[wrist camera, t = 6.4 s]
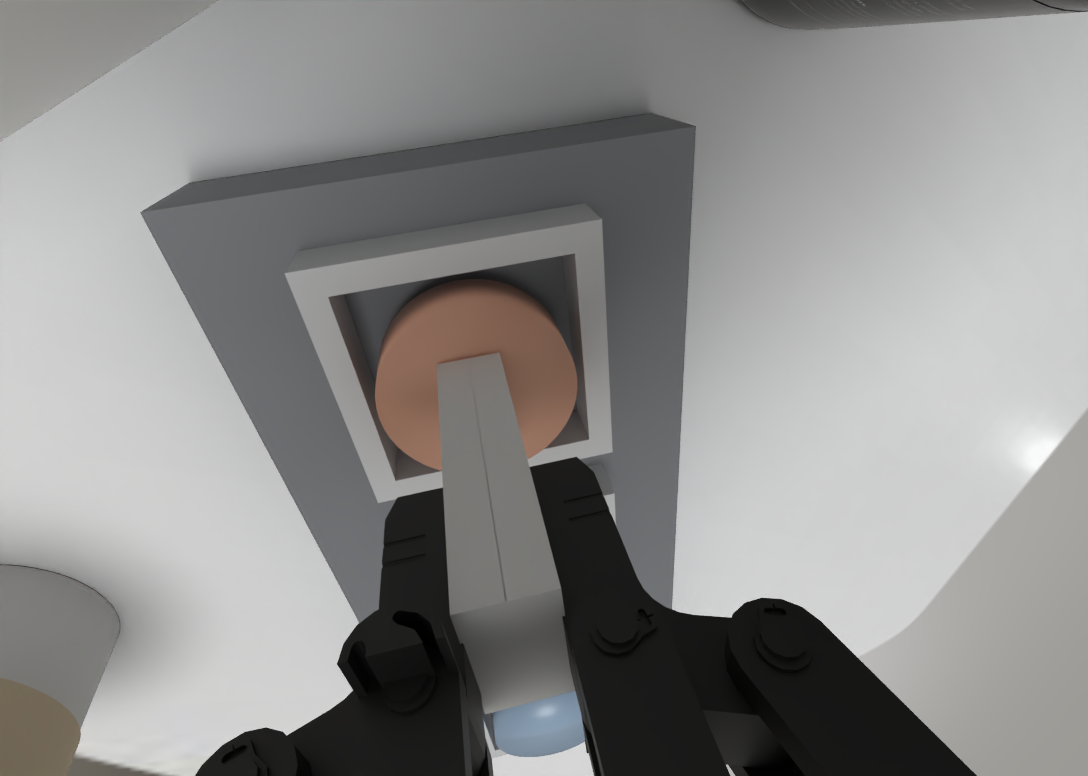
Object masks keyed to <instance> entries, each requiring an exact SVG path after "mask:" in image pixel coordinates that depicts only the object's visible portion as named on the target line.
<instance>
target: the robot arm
mask: <svg viewBox="0 0 1088 776" xmlns="http://www.w3.org/2000/svg"><path fill="white" fill-rule="evenodd" d="M436 367H437V385H438V404H439V423H440V441H441V460H442V478H443V488H438V489H433V490H429V491H424V492H420V493H415V494H411V495H406V496H401V497H397V499H396V501H395V503H394V505H393V506H392V508H391V510H390V512H389V514H388V515H387V517H386V519H385V527H384V541H383V544H384V548H383V555H382V566H383V568H382V569H381V583H380V597H379V610H377V611H374V612H373V613H372V614H371V615H369V616H368V617H367V618H366V619H364V620H363V621H362V622H360V623H359V624H358V625H357V626H356V627H355V629H354V630H353V631H352V633H351V634H350V636H349V637H348V638H347V640H346V641H345V643H344V644H343V648H342V651H341V654H340V657H339V660H338V663H337V665H338V666H339V668H340V669H341V671H342V673H343V674H344V676H345V677H346V679H347V681H348V682H349V684H350V686H351V687H352V689H353V691H352V692H351V693H350V694H349V695H348V696H347V697H346V698H345V699H344V700H343V701H342V702H340V703H339V704H337V705H336V706H335V707H333V708H332V709H331V710H329V711H327V712H326V713H324V714H322V715H321V716H319V717H317V718H316V719H314V720H312V721H311V722H309V723H307V724H306V725H304V726H302V727H301V728H299V729H297V730H296V731H294V732H292V733H291V734H289V735H287V736H286V735H285V734H284V733H283V732H281V731H277V730H273V729H269V728H262V729H257V730H253V731H248V732H244V733H243V734H241V735H239V736H237V737H236V738H234V739H232V740H231V741H229V742H227V743H225V744H224V745H222V746H221V747H220V748H219V749H218V750H217V751H216V752H215V753H214V754H213V755H212V756H211V757H210V758H209V759H208V760H207V761H206V762H205V763H204V764H203V765H202V766H201V768H200V769H199V771H198V772H197V774H196V775H195V776H493V767H492V758H491V754H490V751H489V747H488V744H487V740H486V738H485V729H484V718H483V709H484V712H485V714H489V713H493V712H496V711H500V710H504V709H508V708H511V707H515V706H519V705H523V704H527V703H530V702H534V701H538V700H542V699H546V698H549V697H553V696H557V695H561V694H564V693H568V692H572V691H576V695H577V699H578V703H579V707H580V712H581V716H582V723H583V730H584V737H585V744H586V750H587V753H589V756H590V760H591V764H592V768H593V772H594V776H730V774H729V772H728V769H727V767H726V765H725V764H728V765H729V767H730V768H731V770H732V771H733V773H734V774H735V776H977V775H976V774H975V773H973V772H972V771H971V770H970V769H969V768H968V767H967V766H966V765H965V764H964V763H963V762H962V761H961V760H960V759H959V758H958V757H957V756H956V755H955V754H954V753H953V752H952V751H951V750H950V749H949V748H948V747H947V746H946V745H945V744H944V743H943V742H942V741H941V740H940V739H939V738H938V737H937V736H936V735H935V734H934V733H933V732H932V731H931V730H930V729H929V728H928V727H927V726H926V725H925V724H924V723H923V722H922V721H921V720H920V719H919V718H918V717H917V716H916V715H915V714H914V713H913V712H912V711H911V710H910V709H909V708H908V707H907V706H906V705H905V704H904V703H903V702H902V701H901V700H900V699H899V698H898V697H897V696H896V695H895V694H894V693H893V692H891V691H890V689H888V688H887V687H886V685H885V684H883V683H882V682H881V681H880V680H879V679H878V678H877V677H876V676H875V675H874V674H873V673H872V672H871V671H870V670H869V669H868V668H867V667H866V666H865V665H864V664H863V663H862V662H861V661H860V660H859V659H858V658H857V657H856V656H855V655H854V654H853V653H852V652H851V651H850V650H849V649H848V648H847V647H846V646H845V645H844V644H843V643H842V642H841V641H840V640H839V639H838V638H837V637H836V636H835V635H834V634H833V633H832V632H831V631H830V630H829V629H828V628H827V627H826V626H825V625H824V624H823V623H822V622H821V621H820V620H818V619H817V618H816V617H814V616H813V615H812V614H810V613H809V612H808V611H806V610H805V609H804V608H802V607H800V606H798V605H795V604H793V603H790V602H787V601H785V600H782V599H771V598H760V599H757V600H753V601H750V602H747V603H744V604H743V605H742V606H741V607H740V608H739V609H738V610H737V611H736V612H735V613H734V614H733V616H732V618H727V617H713V616H700V615H691V614H685V613H680V612H677V611H674V610H672V609H669V608H667V607H665V606H663V605H662V604H660V603H659V602H657V601H656V600H654V599H653V598H652V597H651V596H650V595H649V594H648V593H647V592H646V591H645V590H644V589H643V587H642V585H641V583H640V582H639V580H638V578H637V576H636V573H635V571H634V568H633V566H632V563H631V561H630V559H629V556H628V554H627V551H626V549H625V546H624V544H623V541H622V539H621V537H620V534H619V532H618V529H617V527H616V524H615V522H614V520H613V517H612V515H611V514H610V511H609V507H608V505H607V502H606V500H605V498H604V497H603V493H602V490H601V488H600V485H599V483H598V481H597V478H596V476H595V473H594V472H593V471H592V470H591V469H590V468H589V467H588V466H587V465H586V464H584V463H583V462H582V461H581V460H580V459H579V458H578V457H573V458H568V459H563V460H559V461H554V462H550V463H545V464H541V465H536V466H531V467H529V463H528V460H527V456H526V452H525V448H524V444H523V441H522V437H521V433H520V429H519V425H518V421H517V418H516V414H515V410H514V406H513V402H512V399H511V395H510V391H509V387H508V383H507V379H506V376H505V372H504V368H503V364H502V360H501V356H500V353H494V354H488V355H483V356H478V357H473V358H468V359H463V360H457V361H452V362H447V363H442V364H437V365H436ZM482 706H483V708H482Z"/></svg>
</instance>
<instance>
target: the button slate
mask: <svg viewBox="0 0 1088 776" xmlns="http://www.w3.org/2000/svg"><path fill="white" fill-rule="evenodd" d="M492 714H493V723H494V733H495V741H496V744H497V746H498V748H499V749H500V750H502V751H503V752H505V753H507V754H510V755H514V756H520V757H538V756H545V755H551V754H555V753H558V752H562V751H565V750H568V749H570V748H573V747H575V746H577V745H579V744H581V743H583V742H584V741H585V737H584V730H583V723H582V716H581V712H580V707H579V703H578V699H577V695H576V691H572V692H568V693H564V694H561V695H557V696H553V697H549V698H546V699H542V700H538V701H534V702H530V703H527V704H523V705H519V706H515V707H511V708H508V709H504V710H500V711H496V712H493V713H492Z"/></svg>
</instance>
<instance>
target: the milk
mask: <svg viewBox="0 0 1088 776" xmlns="http://www.w3.org/2000/svg"><path fill="white" fill-rule="evenodd" d="M218 1H219V0H0V141H2V140H3V139H5V138H6V137H8V136H9V135H11V134H13V133H14V132H16V131H17V130H19V129H20V128H22V127H23V126H25V125H27V124H28V123H30V122H31V121H33V120H34V119H36V118H37V117H39V116H41V115H42V114H44V113H45V112H47V111H48V110H50V109H51V108H53V107H55V106H56V105H58V104H59V103H61V102H62V101H64V100H65V99H67V98H69V97H70V96H72V95H73V94H75V93H76V92H78V91H79V90H81V89H83V88H84V87H86V86H87V85H89V84H90V83H92V82H93V81H95V80H97V79H98V78H100V77H101V76H103V75H104V74H106V73H107V72H109V71H111V70H112V69H114V68H115V67H117V66H118V65H120V64H121V63H123V62H125V61H126V60H128V59H129V58H131V57H132V56H134V55H135V54H137V53H139V52H140V51H142V50H143V49H145V48H146V47H148V46H149V45H151V44H153V43H154V42H156V41H157V40H159V39H160V38H162V37H163V36H165V35H167V34H168V33H170V32H171V31H173V30H174V29H176V28H177V27H179V26H181V25H182V24H184V23H185V22H187V21H188V20H190V19H191V18H193V17H195V16H196V15H198V14H199V13H201V12H202V11H204V10H205V9H207V8H209V7H210V6H212V5H213V4H215V3H216V2H218Z"/></svg>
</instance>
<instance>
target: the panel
mask: <svg viewBox="0 0 1088 776" xmlns="http://www.w3.org/2000/svg"><path fill="white" fill-rule="evenodd" d="M695 129H696V126H693V125H690V124H686V123H683V122H680V121H676V120H673V119H670V118H666V117H663V116H660V115H656V114H653V113H649V114H643V115H636V116H629V117H623V118H616V119H610V120H603V121H596V122H590V123H583V124H576V125H570V126H563V127H557V128H550V129H543V130H537V131H530V132H524V133H517V134H510V135H504V136H497V137H490V138H484V139H477V140H471V141H464V142H457V143H451V144H444V145H437V146H431V147H424V148H418V149H411V150H404V151H398V152H391V153H384V154H378V155H371V156H365V157H358V158H351V159H345V160H338V161H332V162H325V163H318V164H312V165H305V166H298V167H292V168H285V169H279V170H272V171H265V172H259V173H252V174H245V175H239V176H232V177H226V178H219V179H212V180H206V181H199V182H192V183H188V184H187V185H185V186H183V187H182V188H180V189H178V190H177V191H175V192H173V193H172V194H170V195H168V196H167V197H165V198H163V199H162V200H160V201H158V202H157V203H155V204H153V205H152V206H150V207H148V208H147V209H145V210H143V211H142V212H140V213H141V215H142V217H143V218H144V220H145V222H146V224H147V226H148V228H149V230H150V232H151V233H152V235H153V237H154V239H155V241H156V243H157V245H158V247H159V248H160V250H161V252H162V254H163V256H164V258H165V260H166V262H167V263H168V265H169V267H170V269H171V271H172V273H173V275H174V276H175V278H176V280H177V282H178V284H179V286H180V288H181V290H182V291H183V293H184V295H185V297H186V299H187V301H188V303H189V305H190V306H191V308H192V310H193V312H194V314H195V316H196V318H197V320H198V321H199V323H200V325H201V327H202V329H203V331H204V333H205V335H206V336H207V338H208V340H209V342H210V344H211V346H212V348H213V349H214V351H215V353H216V355H217V357H218V359H219V361H220V363H221V364H222V366H223V368H224V370H225V372H226V374H227V376H228V378H229V379H230V381H231V383H232V385H233V387H234V389H235V391H236V393H237V394H238V396H239V398H240V400H241V402H242V404H243V406H244V408H245V409H246V411H247V413H248V415H249V417H250V419H251V421H252V422H253V424H254V426H255V428H256V430H257V432H258V434H259V436H260V437H261V439H262V441H263V443H264V445H265V447H266V449H267V451H268V452H269V454H270V456H271V458H272V460H273V462H274V464H275V466H276V467H277V469H278V471H279V473H280V475H281V477H282V479H283V481H284V482H285V484H286V486H287V488H288V490H289V492H290V494H291V495H292V497H293V499H294V501H295V503H296V505H297V507H298V509H299V510H300V512H301V514H302V516H303V518H304V520H305V522H306V524H307V525H308V527H309V529H310V531H311V533H312V535H313V537H314V539H315V540H316V542H317V544H318V546H319V548H320V550H321V552H322V554H323V555H324V557H325V559H326V561H327V563H328V565H329V567H330V568H331V570H332V572H333V574H334V576H335V578H336V580H337V582H338V583H339V585H340V587H341V589H342V591H343V593H344V595H345V597H346V598H347V600H348V602H349V604H350V606H351V608H352V610H353V612H354V613H355V615H356V617H357V619H358V621H359V623H360V622H362V621H363V620H364V619H366V618H367V617H368V616H369V615H371V614H372V613H373V612H374V611H377V610H379V597H380V583H381V569H382V568H383V566H382V555H383V548H384V544H383V541H384V527H385V519H386V517H387V515H388V514H389V512H390V510H391V508H392V506H393V505H394V503H395V501H396V499H397V497H401V496H406V495H411V494H415V493H420V492H424V491H429V490H433V489H438V488H443V478H442V471H441V470H437V469H434V468H432V467H429V466H426V465H424V464H422V463H420V462H418V461H416V460H414V459H413V458H411V457H410V456H408V455H407V454H405V453H404V452H403V451H402V450H401V449H400V448H398V447H397V446H396V445H395V443H394V442H393V441H392V440H391V439H390V438H389V436H388V435H387V433H386V431H385V430H384V428H383V426H382V424H381V422H380V419H379V417H378V413H377V409H376V402H375V386H376V378H377V370H378V362H379V355H380V349H381V345H382V340H383V338H384V335H385V333H386V330H387V329H388V327H389V325H390V323H391V322H392V320H393V319H394V317H395V316H396V315H397V314H398V312H399V311H400V310H401V309H402V308H403V307H404V306H405V305H406V304H407V303H408V302H410V301H411V300H412V299H414V298H415V297H417V296H418V295H419V294H421V293H423V292H425V291H427V290H429V289H431V288H433V287H436V286H438V285H441V284H444V283H448V282H452V281H456V280H464V279H486V280H493V281H498V282H502V283H506V284H509V285H511V286H514V287H516V288H519V289H520V290H522V291H524V292H526V293H527V294H529V295H531V296H532V297H533V298H534V299H536V300H537V301H538V302H539V303H540V304H541V305H542V306H543V307H544V308H545V309H546V310H547V311H548V312H549V314H550V315H551V317H552V318H553V320H554V321H555V323H556V325H557V327H558V329H559V331H560V333H561V336H562V338H563V340H564V342H565V344H566V346H567V348H568V350H569V352H570V354H571V356H572V359H573V362H574V365H575V368H576V374H577V396H576V401H575V405H574V408H573V411H572V413H571V415H570V418H569V420H568V421H567V423H566V425H565V426H564V428H563V430H562V431H561V432H560V433H559V435H558V436H557V437H556V438H555V439H554V440H553V441H552V442H551V443H550V444H549V445H548V446H547V447H546V448H544V449H543V450H542V451H541V452H539V453H538V454H536V455H535V456H533V457H531V458H530V459H528V463H529V467H531V466H536V465H541V464H545V463H550V462H554V461H559V460H563V459H568V458H573V457H578V458H579V459H580V460H581V461H582V462H583V463H584V464H586V465H587V466H588V467H589V468H590V469H591V470H592V471H593V472H594V473H595V476H596V478H597V481H598V483H599V485H600V488H601V490H602V493H603V497H604V498H605V500H606V502H607V505H608V507H609V511H610V514H611V515H612V517H613V520H614V522H615V524H616V527H617V529H618V532H619V534H620V537H621V539H622V541H623V544H624V546H625V549H626V551H627V554H628V556H629V559H630V561H631V563H632V566H633V568H634V571H635V573H636V576H637V578H638V580H639V582H640V583H641V585H642V587H643V589H644V590H645V591H646V592H647V593H648V594H649V595H650V596H651V597H652V598H653V599H654V600H656V601H657V602H659V603H660V604H662V605H663V606H665V607H667V608H669V609H672V595H673V574H674V554H675V534H676V514H677V493H678V473H679V453H680V432H681V412H682V392H683V372H684V351H685V331H686V311H687V291H688V270H689V250H690V230H691V210H692V189H693V169H694V149H695ZM482 708H483V706H482ZM483 718H484V729H485V738H486V740H487V744H488V747H489V751H490V754H491V758H495V757H498V756H502V755H506V754H507V753H505V752H503V751H502V750H500V749H499V748H498V746H497V744H496V741H495V733H494V723H493V714H492V713H489V714H485V712H484V709H483Z"/></svg>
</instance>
